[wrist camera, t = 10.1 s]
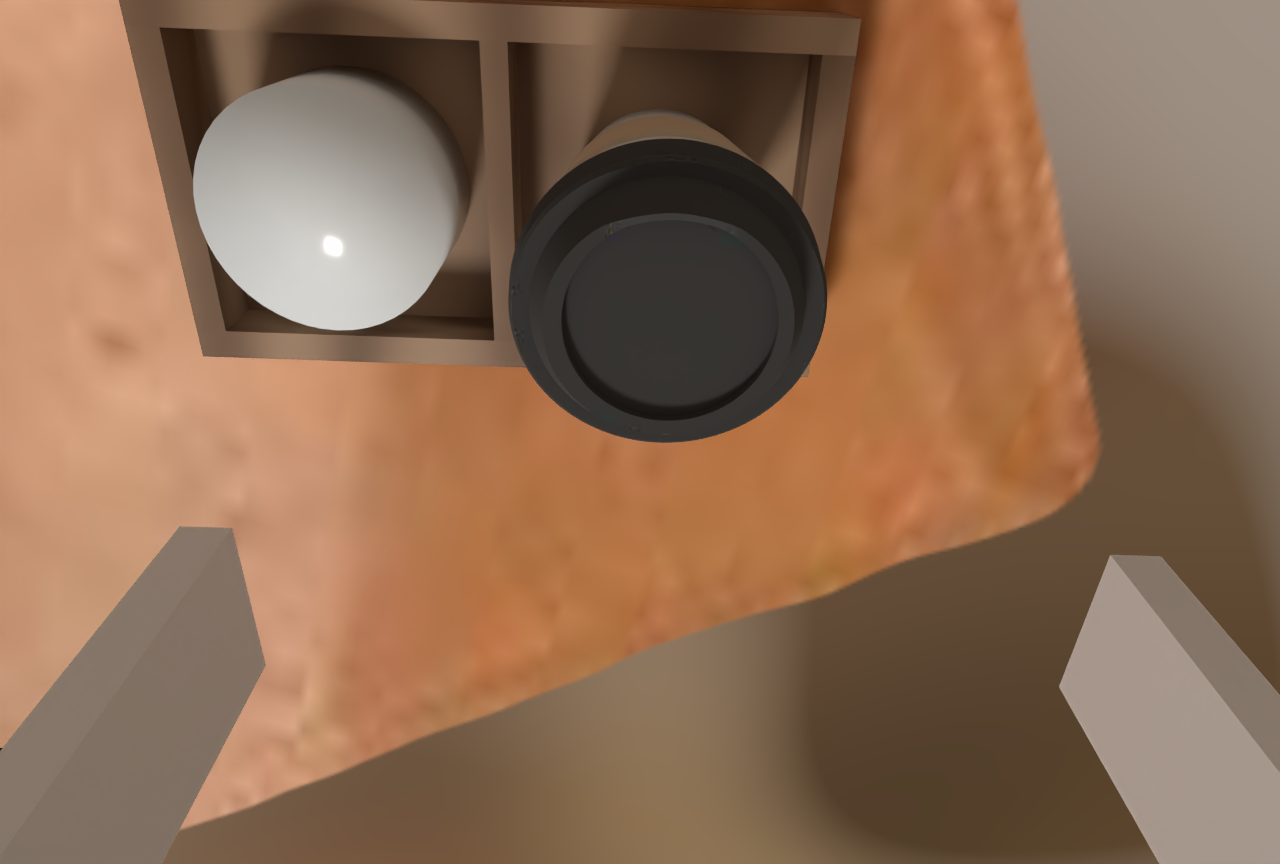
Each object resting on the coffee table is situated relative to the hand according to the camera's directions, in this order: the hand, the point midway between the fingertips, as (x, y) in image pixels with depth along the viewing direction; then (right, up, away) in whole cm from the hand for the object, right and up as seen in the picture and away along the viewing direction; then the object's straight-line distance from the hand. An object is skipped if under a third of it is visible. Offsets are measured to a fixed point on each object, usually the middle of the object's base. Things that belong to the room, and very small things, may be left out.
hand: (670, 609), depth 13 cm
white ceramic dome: (-12, +13, +22) cm, 28 cm away
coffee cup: (0, +13, +22) cm, 26 cm away
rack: (-6, +13, +23) cm, 27 cm away
